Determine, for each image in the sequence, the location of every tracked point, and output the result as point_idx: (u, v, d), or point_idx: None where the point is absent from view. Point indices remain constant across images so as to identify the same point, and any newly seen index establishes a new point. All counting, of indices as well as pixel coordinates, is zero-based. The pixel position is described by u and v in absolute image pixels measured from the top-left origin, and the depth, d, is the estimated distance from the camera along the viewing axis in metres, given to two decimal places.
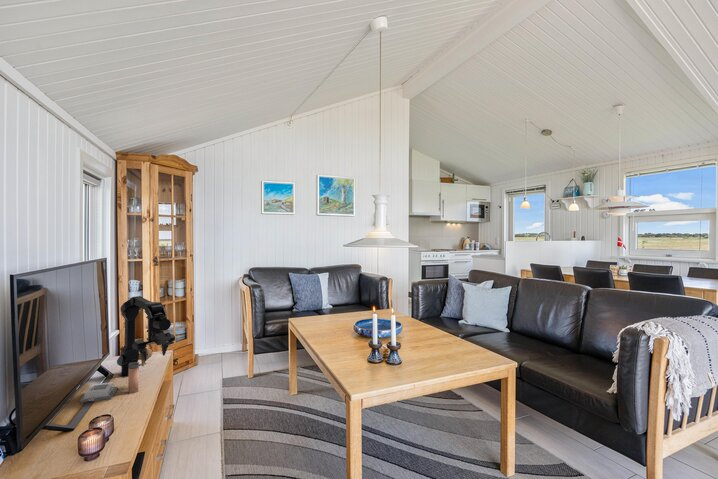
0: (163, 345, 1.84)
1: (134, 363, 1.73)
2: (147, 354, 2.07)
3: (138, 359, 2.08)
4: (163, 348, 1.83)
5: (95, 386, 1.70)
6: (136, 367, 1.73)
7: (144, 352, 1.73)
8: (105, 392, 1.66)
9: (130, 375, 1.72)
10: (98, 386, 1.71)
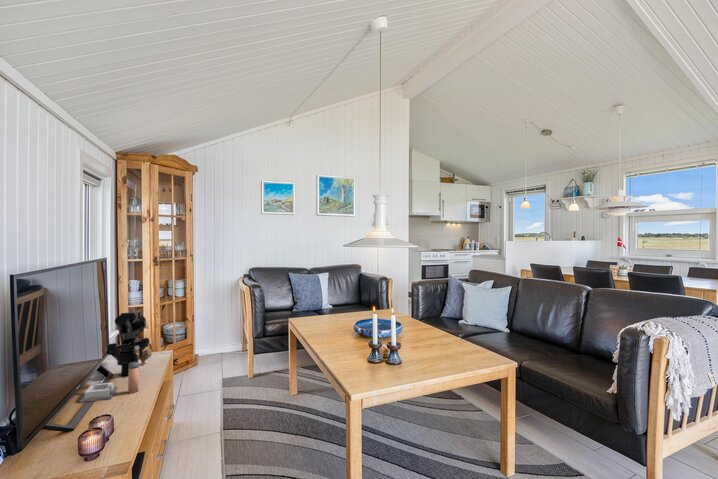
0: (139, 350, 1.85)
1: (134, 363, 1.73)
2: (147, 354, 2.07)
3: (138, 359, 2.08)
4: (139, 352, 1.84)
5: (95, 386, 1.70)
6: (136, 367, 1.73)
7: (116, 352, 1.77)
8: (105, 392, 1.66)
9: (130, 375, 1.72)
10: (98, 386, 1.71)
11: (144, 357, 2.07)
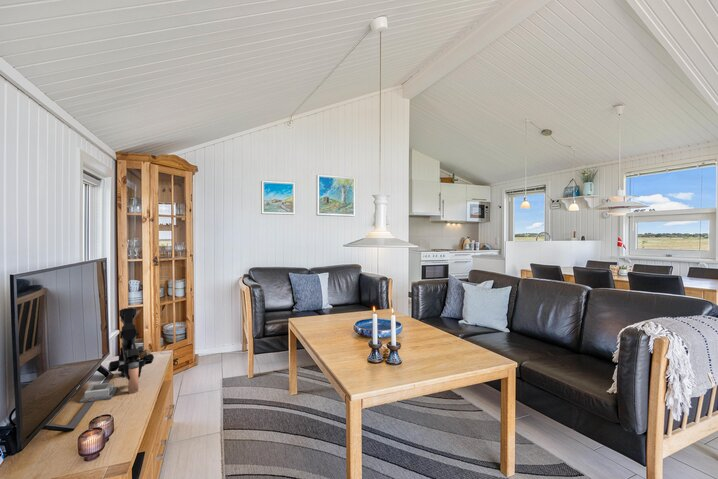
0: None
1: (134, 363, 1.73)
2: (146, 354, 2.08)
3: None
4: None
5: (95, 386, 1.70)
6: (136, 367, 1.73)
7: (125, 369, 1.72)
8: (105, 392, 1.66)
9: (130, 375, 1.72)
10: (98, 386, 1.71)
11: None
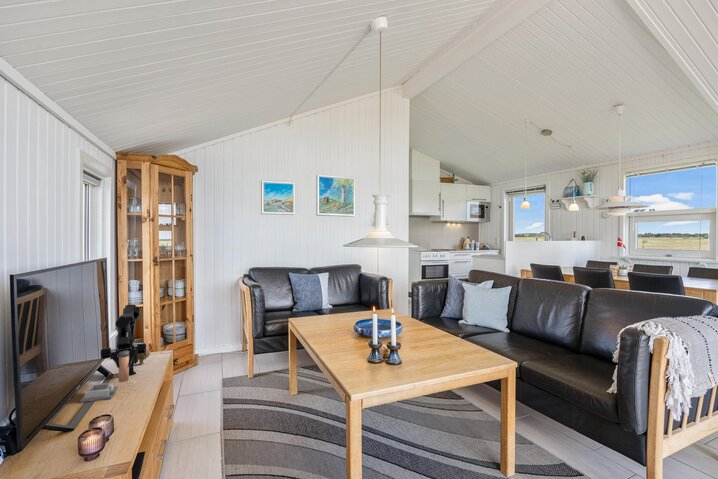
0: (130, 356, 1.75)
1: (124, 352, 1.71)
2: (145, 354, 2.08)
3: None
4: (129, 359, 1.74)
5: (95, 386, 1.70)
6: (126, 356, 1.70)
7: (115, 357, 1.70)
8: (105, 392, 1.66)
9: (120, 363, 1.69)
10: (98, 386, 1.71)
11: (142, 357, 2.07)
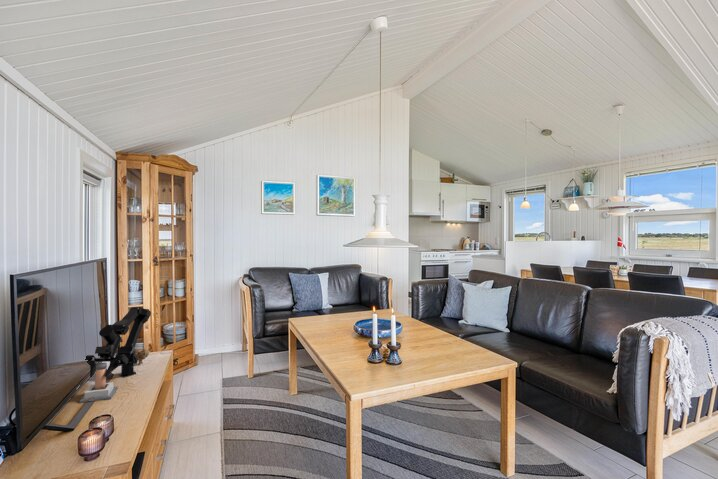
0: None
1: (101, 364, 1.68)
2: (144, 354, 2.08)
3: None
4: None
5: None
6: (100, 369, 1.67)
7: (91, 366, 1.69)
8: (105, 392, 1.66)
9: (95, 376, 1.67)
10: None
11: (141, 356, 2.07)
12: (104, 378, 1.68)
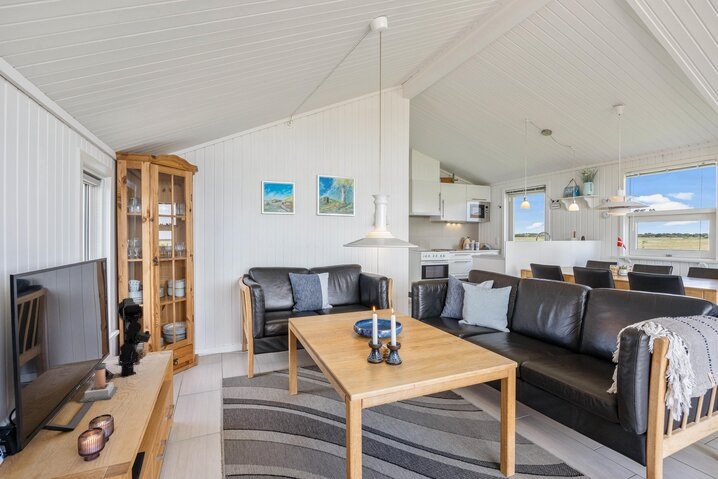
0: None
1: (100, 364, 1.68)
2: (142, 353, 2.08)
3: None
4: None
5: None
6: (99, 369, 1.67)
7: (132, 352, 1.78)
8: (105, 392, 1.66)
9: (95, 376, 1.67)
10: None
11: (139, 356, 2.08)
12: (103, 378, 1.68)
